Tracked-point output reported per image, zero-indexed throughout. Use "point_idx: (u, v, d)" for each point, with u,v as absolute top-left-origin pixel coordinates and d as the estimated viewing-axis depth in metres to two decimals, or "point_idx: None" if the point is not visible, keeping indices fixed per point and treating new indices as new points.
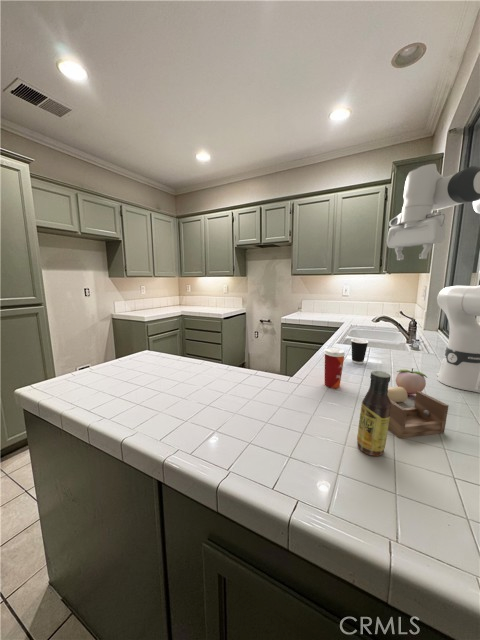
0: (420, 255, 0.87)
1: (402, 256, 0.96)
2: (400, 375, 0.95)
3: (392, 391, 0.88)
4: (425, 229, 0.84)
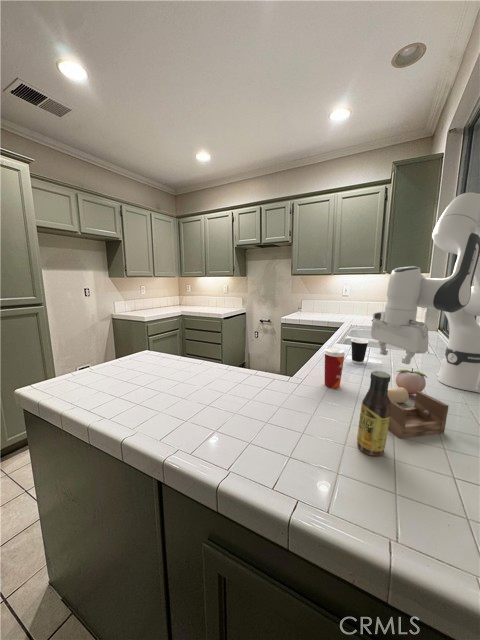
0: (403, 360, 0.83)
1: (386, 351, 0.91)
2: (400, 375, 0.95)
3: (394, 394, 0.87)
4: (408, 336, 0.80)
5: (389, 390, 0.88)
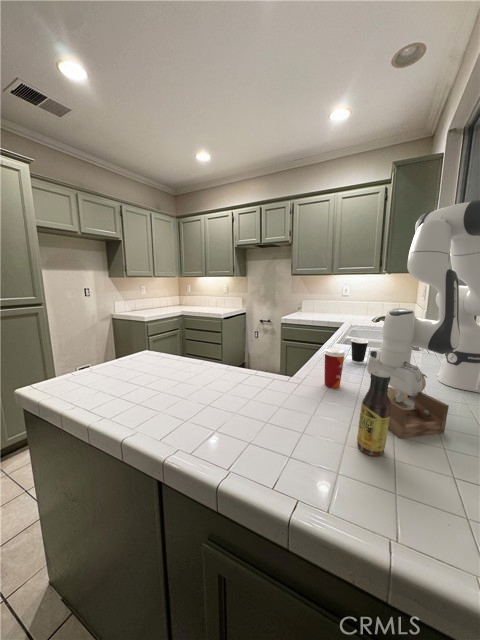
0: (395, 398, 0.87)
1: None
2: None
3: (392, 391, 0.88)
4: (403, 378, 0.83)
5: None
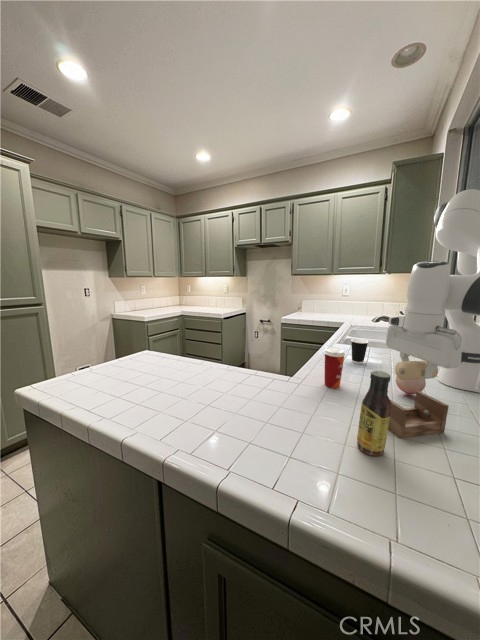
0: (423, 373, 0.69)
1: None
2: None
3: (419, 365, 0.71)
4: (435, 346, 0.65)
5: (412, 361, 0.72)
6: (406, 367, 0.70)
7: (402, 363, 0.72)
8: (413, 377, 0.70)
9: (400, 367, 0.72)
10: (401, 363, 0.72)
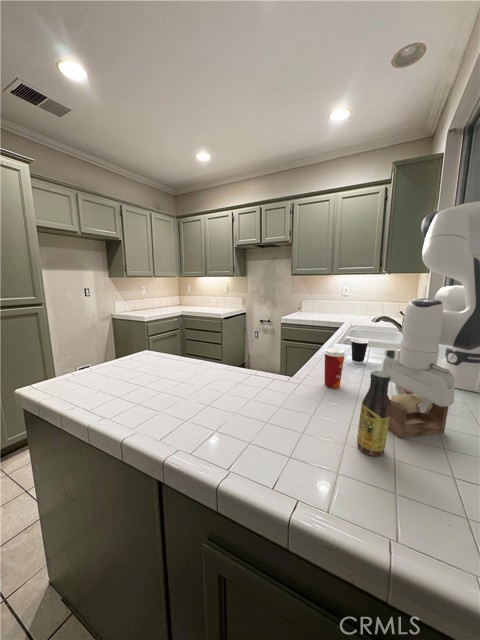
0: (417, 407, 0.71)
1: None
2: None
3: (414, 399, 0.72)
4: (429, 384, 0.67)
5: (407, 395, 0.73)
6: (401, 401, 0.72)
7: (397, 397, 0.73)
8: (408, 411, 0.72)
9: (395, 400, 0.74)
10: (396, 397, 0.74)
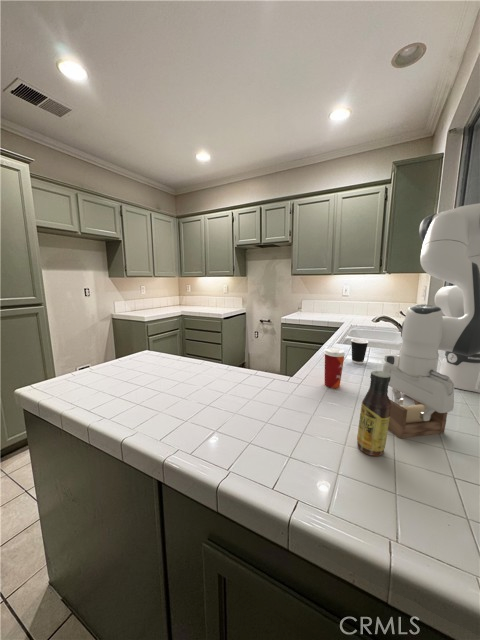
0: (421, 415, 0.70)
1: (401, 400, 0.78)
2: None
3: (413, 411, 0.73)
4: (429, 390, 0.67)
5: (406, 407, 0.74)
6: None
7: None
8: (407, 423, 0.72)
9: None
10: None
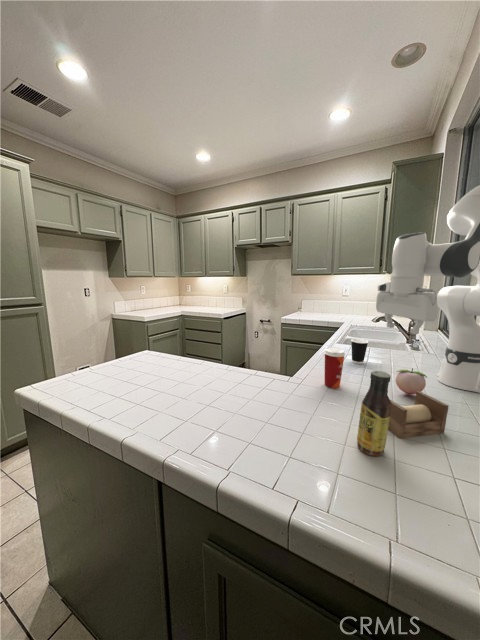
0: (411, 330, 0.80)
1: (392, 324, 0.89)
2: (400, 375, 0.95)
3: (413, 411, 0.73)
4: (416, 304, 0.77)
5: (406, 407, 0.74)
6: None
7: None
8: (407, 423, 0.72)
9: None
10: None
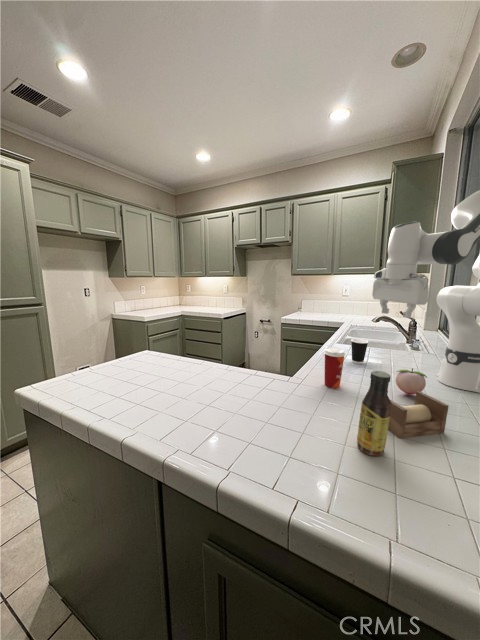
0: (404, 314, 0.85)
1: (387, 310, 0.93)
2: (400, 375, 0.95)
3: (413, 411, 0.73)
4: (409, 289, 0.82)
5: (406, 407, 0.74)
6: None
7: None
8: (407, 423, 0.72)
9: None
10: None
